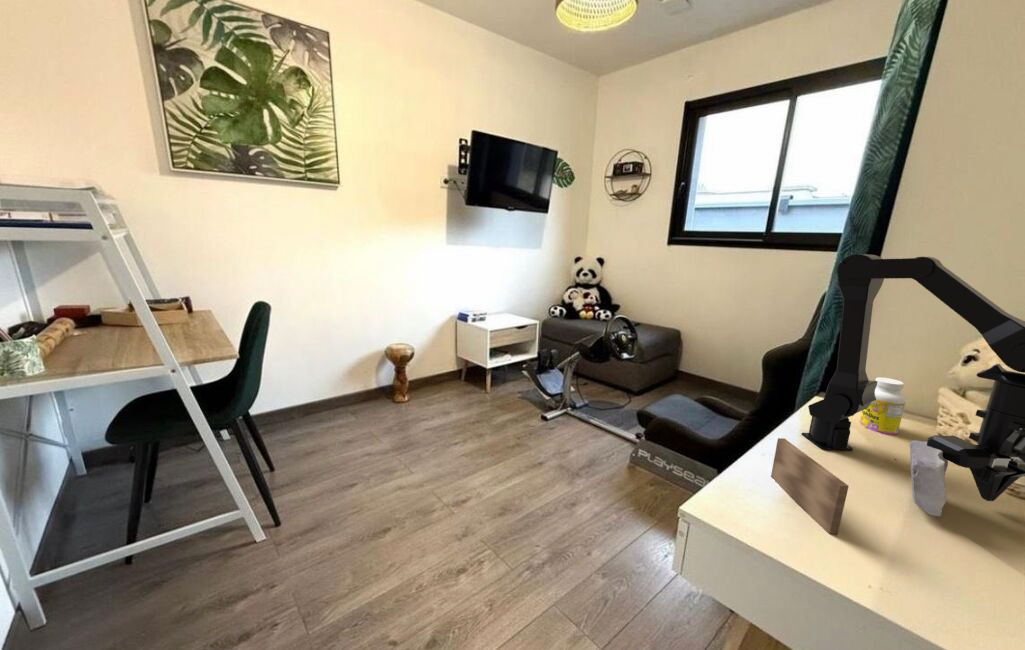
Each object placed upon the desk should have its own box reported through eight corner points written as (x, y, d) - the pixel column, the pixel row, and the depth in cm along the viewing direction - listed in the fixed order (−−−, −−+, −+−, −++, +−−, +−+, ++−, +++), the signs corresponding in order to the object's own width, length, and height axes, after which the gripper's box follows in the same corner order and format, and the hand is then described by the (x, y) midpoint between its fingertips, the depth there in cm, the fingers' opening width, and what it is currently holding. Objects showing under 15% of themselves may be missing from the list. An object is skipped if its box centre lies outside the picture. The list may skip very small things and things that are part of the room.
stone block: (898, 484, 71) (911, 433, 69) (936, 496, 68) (951, 443, 66) (896, 514, 63) (910, 457, 61) (939, 529, 60) (956, 470, 58)
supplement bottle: (851, 425, 95) (862, 374, 93) (881, 427, 95) (893, 376, 92) (872, 438, 89) (884, 384, 86) (904, 441, 88) (918, 386, 85)
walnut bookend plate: (770, 478, 72) (777, 438, 70) (777, 478, 72) (784, 438, 70) (829, 534, 58) (840, 485, 56) (837, 534, 58) (848, 485, 56)
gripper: (1017, 433, 54) (986, 532, 57) (1156, 439, 54) (1116, 537, 57) (934, 401, 65) (911, 486, 68) (1049, 406, 65) (1021, 490, 68)
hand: (987, 499), depth 65 cm, fingers closed
